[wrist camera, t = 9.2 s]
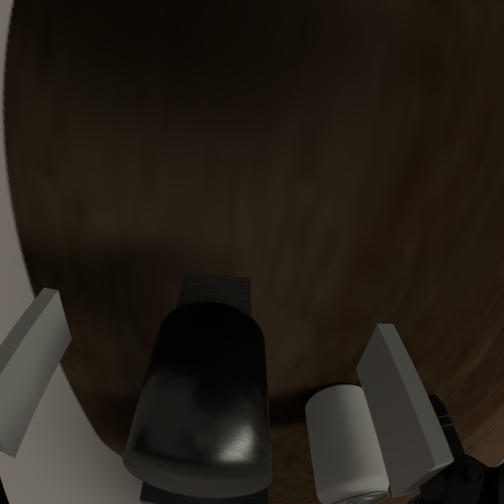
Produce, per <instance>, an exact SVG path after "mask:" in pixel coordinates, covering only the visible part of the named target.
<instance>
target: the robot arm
mask: <svg viewBox="0 0 504 504" xmlns="http://www.w3.org/2000/svg"><path fill="white" fill-rule="evenodd" d="M71 340H72V338H71V335H70V331H69V328H68V325H67V321H66V318H65V314H64V311H63V307H62V303H61V299H60V295H59V291H58V290H53V289H48V288H44V289H43V290H42V291H41V292H40V294H39V295H38V296H37V297H36V299H35V300H34V301H33V302H32V304H31V305H30V306H29V307H28V309H27V310H26V311H25V313H24V314H23V315H22V317H21V318H20V319H19V321H18V322H17V323H16V325H15V326H14V327H13V329H12V330H11V331H10V333H9V334H8V336H7V337H6V339H5V340H4V341H3V343H2V344H1V346H0V451H2V452H4V453H6V454H8V455H9V456H12V457H14V458H15V457H16V454H17V451H18V449H19V447H20V444H21V442H22V439H23V437H24V434H25V432H26V430H27V428H28V425H29V423H30V421H31V418H32V416H33V414H34V412H35V410H36V408H37V406H38V403H39V401H40V399H41V397H42V395H43V393H44V391H45V389H46V387H47V385H48V383H49V381H50V379H51V377H52V375H53V373H54V371H55V369H56V367H57V365H58V363H59V362H60V360H61V358H62V356H63V354H64V352H65V350H66V349H67V347H68V345H69V343H70V341H71ZM356 370H357V373H358V376H359V379H360V382H361V385H362V389H363V392H364V395H365V398H366V402H367V405H368V408H369V412H370V415H371V418H372V422H373V425H374V429H375V432H376V436H377V439H378V443H379V446H380V450H381V454H382V457H383V461H384V465H385V469H386V472H387V476H388V480H389V484H390V488H391V492H392V496H393V498H396V497H400V496H404V495H408V494H411V493H412V492H414V491H415V490H417V489H418V488H420V492H421V493H420V494H419V495H417V496H416V497H414V498H413V499H411V500H410V501H409V502H408V503H407V504H412V503H414V502H415V503H414V504H504V462H503V463H502V464H501V465H499V466H498V467H481V466H480V464H479V463H477V462H476V461H474V460H468V458H467V457H466V455H465V452H464V450H463V447H462V445H461V442H460V440H459V438H458V435H457V433H456V430H455V428H454V426H452V421H451V419H450V417H448V412H447V410H446V408H445V406H444V404H443V403H442V401H441V400H440V399H439V398H438V397H437V396H436V395H428V396H427V393H426V391H425V389H424V387H423V385H422V382H421V380H420V378H419V376H418V374H417V372H416V370H415V367H414V365H413V363H412V361H411V359H410V357H409V355H408V353H407V351H406V349H405V347H404V345H403V343H402V341H401V339H400V337H399V335H398V333H397V331H396V329H395V327H394V325H393V324H377V326H376V328H375V330H374V332H373V335H372V337H371V339H370V341H369V343H368V345H367V348H366V350H365V352H364V354H363V356H362V358H361V360H360V362H359V364H358V366H357V368H356ZM0 504H9V502H8V499H7V496H6V494H5V491H4V488H3V485H2V482H1V478H0Z"/></svg>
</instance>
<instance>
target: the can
mask: <svg viewBox="0 0 504 504" xmlns="http://www.w3.org/2000/svg"><path fill="white" fill-rule="evenodd" d="M305 413H306V420H307V428H308V435H309V442H310V449H311V456H312V463H313V470H314V477H315V484H316V491H317V496H318V499H319V500H320V502H321V503H322V504H377V503H379V502H381V501H383V500H385V499H386V498H387V497H388V496H389V492H388V487H389V480H388V476H387V472H386V469H385V465H384V461H383V457H382V454H381V450H380V446H379V443H378V439H377V436H376V432H375V429H374V425H373V422H372V418H371V415H370V412H369V408H368V405H367V402H366V398H365V395H364V392H363V389H362V388H360V387H358V386H356V385H353V384H337V385H332V386H329V387H326V388H324V389H322V390H320V391H318V392H317V393H315V394H314V395H313V396H312V397H311V398H310V399H309V401H308V402H307V404H306V406H305Z"/></svg>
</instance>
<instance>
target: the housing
mask: <svg viewBox="0 0 504 504" xmlns="http://www.w3.org/2000/svg"><path fill="white" fill-rule="evenodd" d="M140 501H141V503H142V504H269V503H268V487H266V488H265V489H263V490H261V491H259V492H256V493H253V494H249V495H245V496H239V497H231V498H204V497H194V496H187V495H182V494H177V493H173V492H169V491H166V490H163V489H160V488H157V487H155V486H152V485H150V484H148V483H145V482H144V481H143V484H142V490H141V496H140Z"/></svg>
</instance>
